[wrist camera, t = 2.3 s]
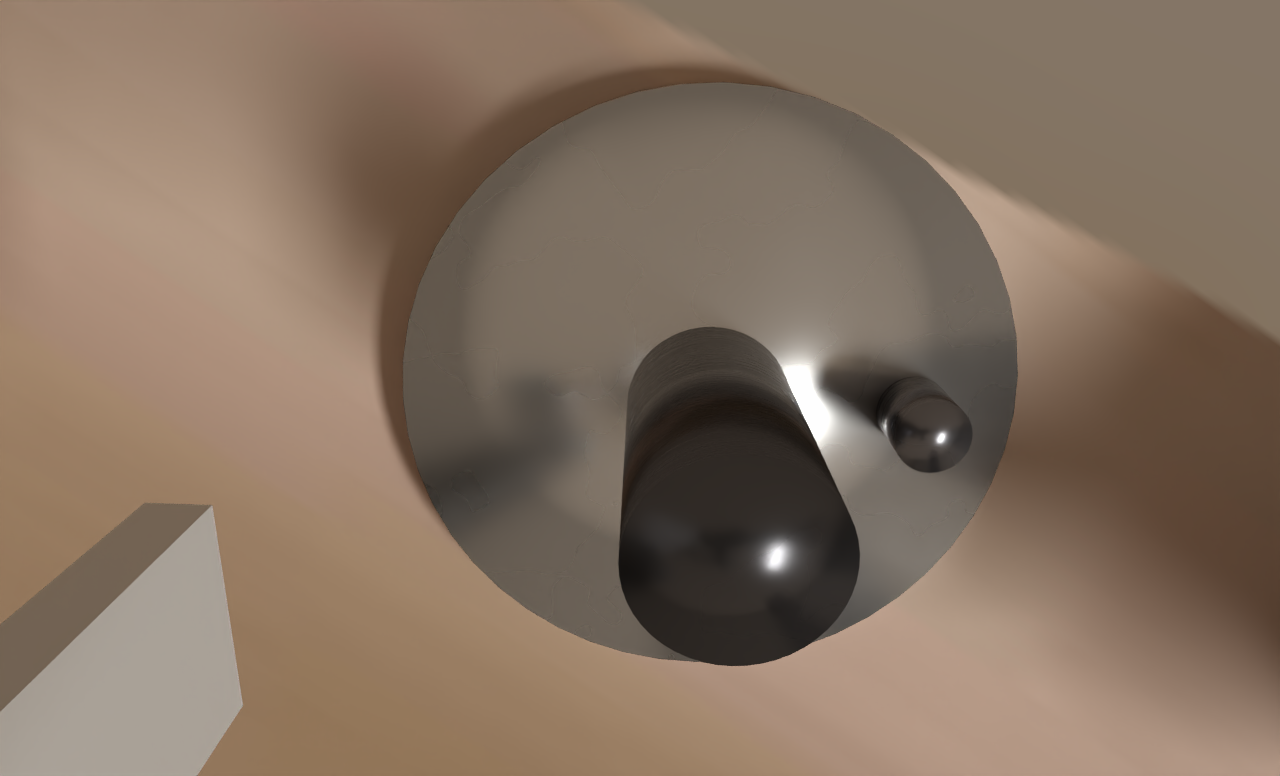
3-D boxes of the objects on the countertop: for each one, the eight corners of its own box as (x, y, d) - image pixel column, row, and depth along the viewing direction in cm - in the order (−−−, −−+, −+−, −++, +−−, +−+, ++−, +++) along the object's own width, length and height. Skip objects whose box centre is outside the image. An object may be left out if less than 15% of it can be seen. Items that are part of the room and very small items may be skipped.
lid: (431, 628, 20) (328, 893, 14) (395, 73, 16) (226, 73, 10) (953, 640, 20) (1101, 911, 14) (1045, 90, 16) (1316, 101, 10)
